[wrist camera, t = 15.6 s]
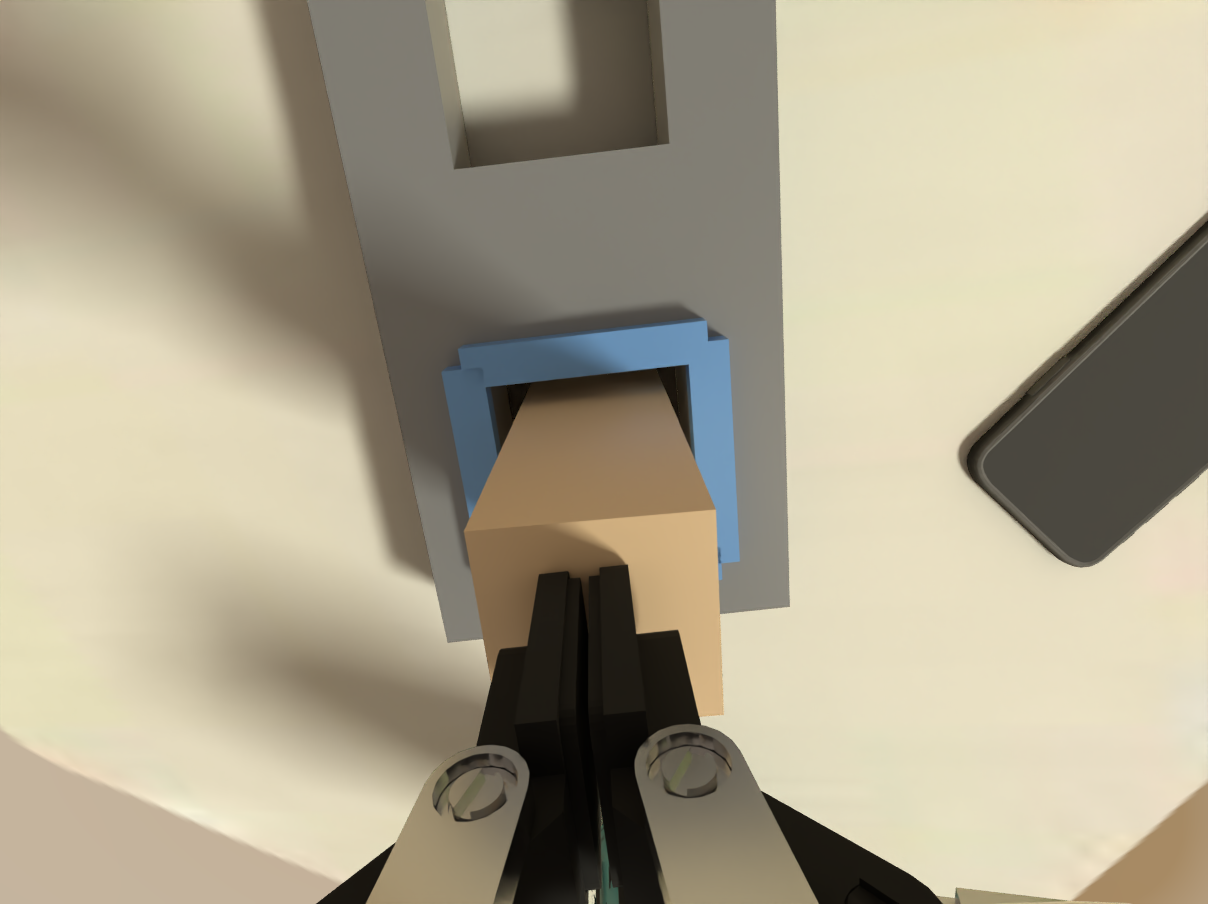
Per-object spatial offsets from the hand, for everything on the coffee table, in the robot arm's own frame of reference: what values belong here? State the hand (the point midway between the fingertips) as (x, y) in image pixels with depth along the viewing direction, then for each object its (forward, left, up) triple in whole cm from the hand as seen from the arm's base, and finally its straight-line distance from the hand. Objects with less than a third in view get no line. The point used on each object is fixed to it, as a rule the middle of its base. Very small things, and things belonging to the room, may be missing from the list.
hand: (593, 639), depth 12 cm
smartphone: (0, +21, -13) cm, 25 cm away
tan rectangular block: (0, 0, -12) cm, 12 cm away
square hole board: (-6, 0, -12) cm, 14 cm away
